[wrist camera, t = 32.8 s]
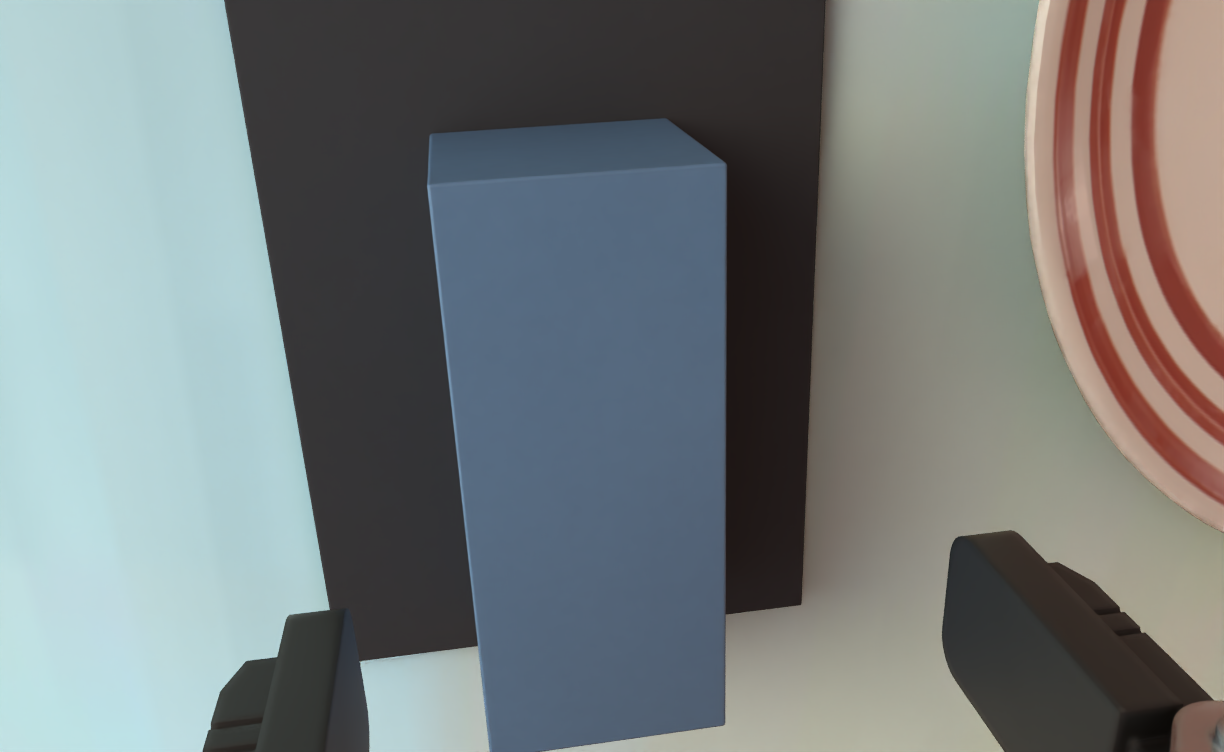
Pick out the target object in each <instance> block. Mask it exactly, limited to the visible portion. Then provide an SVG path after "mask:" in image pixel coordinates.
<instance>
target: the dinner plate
mask: <svg viewBox="0 0 1224 752" xmlns="http://www.w3.org/2000/svg"><path fill="white" fill-rule="evenodd" d="M1024 161H1025V185H1026V202H1027V211H1028V221H1029V231H1030V239H1031V244H1032V249H1033V255H1034V259H1035V264H1036V269H1037V273H1038V278H1039V283H1040V288H1041V292H1042V296H1043V299H1044V302H1045V306H1046V309H1047V312H1048V316H1049V319H1050V322H1051V325H1052V329H1053V332H1054V335H1055V337H1056V340H1057V342H1058V345H1059V347H1060V350H1061V352H1062V354H1063V357H1064V359H1065V361H1066V364H1067V366H1068V368H1069V370H1070V372H1071V374H1072V376H1073V378H1074V380H1075V382H1076V384H1077V386H1078V388H1079V390H1080V392H1081V394H1082V396H1083V398H1084V400H1085V401H1086V403H1087V405H1088V406H1089V408H1090V410H1091V411H1092V413H1093V415H1094V416H1095V418H1096V420H1097V421H1098V423H1099V424H1100V425H1101V427H1102V428H1103V430H1104V431H1105V432H1106V434H1107V435H1108V436H1109V438H1110V439H1111V440H1112V442H1113V443H1114V444H1115V446H1116V447H1117V448H1118V449H1119V450H1120V452H1121V453H1122V454H1123V455H1124V456H1125V458H1126V459H1127V460H1128V461H1129V462H1130V463H1131V464H1132V465H1133V466H1134V467H1135V468H1136V469H1137V470H1138V471H1139V472H1140V473H1141V474H1142V475H1143V476H1144V477H1145V478H1146V479H1147V480H1148V481H1150V482H1151V483H1152V484H1153V485H1154V486H1155V487H1157V488H1158V489H1159V490H1160V491H1161V492H1163V493H1164V494H1165V495H1166V496H1167V497H1168V498H1170V499H1171V500H1172V501H1174V502H1175V503H1176V504H1178V505H1179V506H1180V507H1182V508H1183V509H1184V510H1186V511H1187V512H1188V513H1190V514H1191V515H1192V516H1194V517H1196V518H1197V519H1199V520H1201V521H1202V522H1204V523H1205V524H1207V525H1209V526H1211V527H1213V528H1215V529H1217V530H1219V531H1221V532H1223V533H1224V0H1040V1H1039V6H1038V12H1037V18H1036V24H1035V30H1034V37H1033V45H1032V53H1031V61H1030V69H1029V76H1028V84H1027V92H1026V110H1025V140H1024Z"/></svg>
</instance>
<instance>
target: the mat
mask: <svg viewBox="0 0 1224 752" xmlns="http://www.w3.org/2000/svg"><path fill="white" fill-rule="evenodd" d="M825 1H826V0H224V2H225V7H226V13H227V19H228V25H229V31H230V36H231V42H232V48H233V54H234V59H235V65H236V71H237V77H238V82H239V88H240V94H241V100H242V106H243V111H244V117H245V123H246V129H247V134H248V140H249V146H250V152H251V157H252V163H253V169H254V175H255V180H256V186H257V192H258V198H259V204H260V209H261V215H262V221H263V227H264V232H265V238H266V244H267V250H268V255H269V261H270V267H271V273H272V278H273V284H274V290H275V296H276V302H277V307H278V313H279V319H280V325H281V330H282V336H283V342H284V348H285V353H286V359H287V365H288V371H289V376H290V382H291V388H292V394H293V400H294V405H295V411H296V417H297V423H298V428H299V434H300V440H301V446H302V451H303V457H304V463H305V469H306V474H307V480H308V486H309V492H310V498H311V503H312V509H313V515H314V521H315V526H316V532H317V538H318V544H319V549H320V555H321V561H322V567H323V572H324V578H325V584H326V590H327V596H328V601H329V607H330V610H335V609H344V608H348V609H349V610H350V613H351V616H352V620H353V626H354V632H355V638H356V644H357V650H358V656H359V661H363V660H371V659H379V658H387V657H395V656H403V655H411V654H419V653H426V652H434V651H442V650H450V649H458V648H466V647H474V646H478V641H477V632H476V623H475V614H474V605H473V596H472V587H471V578H470V569H469V560H468V551H467V541H466V532H465V523H464V514H463V505H462V496H461V487H460V478H459V469H458V460H457V451H456V442H455V433H454V424H453V415H452V406H451V397H450V388H449V379H448V370H447V361H446V352H445V343H444V334H443V325H442V316H441V307H440V298H439V289H438V280H437V271H436V262H435V253H434V244H433V235H432V225H431V216H430V207H429V198H428V189H427V183H428V161H429V139H430V135H431V134H434V133H449V132H464V131H479V130H494V129H509V128H524V127H539V126H555V125H570V124H585V123H600V122H615V121H630V120H645V119H660V118H666V119H668V120H669V121H671V122H672V123H673V124H675V125H676V126H677V127H679V128H680V129H681V130H683V131H684V132H685V133H687V134H688V135H689V136H691V137H692V138H693V139H695V140H696V141H697V142H699V143H700V144H701V145H703V146H704V147H705V148H707V149H708V150H709V151H711V152H712V153H713V154H715V155H716V156H717V157H719V158H720V159H721V160H723V161H724V162H725V163H726V164H727V319H726V614H733V613H741V612H749V611H757V610H765V609H773V608H781V607H788V606H796V605H801V601H802V576H803V551H804V526H805V501H806V476H807V451H808V426H809V401H810V376H811V351H812V326H813V301H814V276H815V251H816V226H817V201H818V176H819V151H820V126H821V101H822V76H823V51H824V26H825Z"/></svg>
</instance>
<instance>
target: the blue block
mask: <svg viewBox="0 0 1224 752" xmlns="http://www.w3.org/2000/svg"><path fill="white" fill-rule="evenodd" d="M427 189H428V198H429V207H430V216H431V225H432V235H433V244H434V253H435V262H436V271H437V280H438V289H439V298H440V307H441V316H442V325H443V334H444V343H445V352H446V361H447V370H448V379H449V388H450V397H451V406H452V415H453V424H454V433H455V442H456V451H457V460H458V469H459V478H460V487H461V496H462V505H463V514H464V523H465V532H466V541H467V551H468V560H469V569H470V578H471V587H472V596H473V605H474V614H475V623H476V632H477V641H478V650H479V659H480V668H481V677H482V686H483V695H484V704H485V713H486V722H487V731H488V740H489V749H490V752H542V751H549V750H556V749H563V748H570V747H577V746H584V745H591V744H598V743H605V742H612V741H619V740H626V739H633V738H640V737H647V736H654V735H661V734H668V733H675V732H682V731H689V730H696V729H703V728H710V727H717V726H723V725H725V626H726V319H727V164H726V163H725V162H724V161H723V160H721V159H720V158H719V157H717V156H716V155H715V154H713V153H712V152H711V151H709V150H708V149H707V148H705V147H704V146H703V145H701V144H700V143H699V142H697V141H696V140H695V139H693V138H692V137H691V136H689V135H688V134H687V133H685V132H684V131H683V130H681V129H680V128H679V127H677V126H676V125H675V124H673V123H672V122H671V121H669V120H668V119H666V118H660V119H645V120H630V121H615V122H600V123H585V124H570V125H555V126H539V127H524V128H509V129H494V130H479V131H464V132H449V133H434V134H431V135H430V139H429V161H428V183H427Z"/></svg>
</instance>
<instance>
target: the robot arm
mask: <svg viewBox="0 0 1224 752" xmlns="http://www.w3.org/2000/svg"><path fill="white" fill-rule="evenodd" d="M942 641H943V649H944V654H945V658H946V661H947V664H948V667H949V669H950V672H951V674H952V676H953V677H954V679H955V681H956V682H957V684H958V685H959V686H960V688H961V689H962V691H963V692H964V694H965V695H966V697H967V698H968V699H969V701H970V702H971V704H972V705H973V707H974V708H975V710H976V711H977V712H978V714H979V715H980V717H981V718H982V720H983V721H984V723H985V724H986V725H987V727H988V728H989V730H990V731H991V733H992V734H993V736H994V737H995V739H996V740H997V741H998V743H999V744H1000V746H1001V747H1002V749H1003V750H1004V752H1224V701H1214V700H1213V699H1212V698H1211V697H1210V696H1209V695H1208V694H1207V693H1206V692H1205V691H1204V690H1203V689H1202V688H1201V687H1200V686H1199V685H1198V684H1197V683H1196V682H1195V681H1194V680H1193V679H1192V678H1191V677H1190V676H1189V675H1188V674H1187V673H1186V672H1185V671H1184V670H1183V669H1182V668H1181V667H1180V666H1179V665H1178V664H1177V663H1176V662H1175V661H1174V660H1173V659H1172V658H1171V657H1170V656H1169V655H1168V654H1167V653H1166V652H1165V651H1164V650H1163V649H1162V648H1161V647H1160V646H1159V645H1157V644H1156V643H1155V642H1154V641H1153V640H1152V639H1151V638H1150V637H1149V636H1148V635H1147V634H1146V633H1141V631H1140V627H1139V626H1138V625H1137V624H1136V623H1135V622H1134V621H1133V620H1132V619H1131V618H1130V617H1129V616H1128V615H1127V614H1126V613H1125V612H1120V607H1119V606H1118V605H1117V604H1116V603H1115V602H1114V601H1113V600H1112V599H1111V598H1110V597H1109V596H1108V595H1107V594H1106V593H1105V592H1104V591H1103V590H1102V589H1101V588H1100V587H1099V586H1098V585H1097V584H1096V583H1095V582H1093V581H1091V580H1089V579H1088V578H1086V577H1084V576H1082V575H1080V574H1078V573H1077V572H1075V571H1073V570H1071V569H1069V568H1068V567H1066V566H1064V565H1062V564H1060V563H1058V562H1055V563H1047V562H1046V561H1045V560H1044V559H1043V558H1042V557H1041V556H1040V555H1039V554H1038V553H1037V552H1036V551H1035V550H1034V549H1033V548H1032V547H1031V546H1030V545H1029V544H1028V543H1027V542H1026V541H1025V539H1024V538H1023V537H1022V536H1021V535H1019V534H1018V533H1017V532H1015V531H1011V530H1010V531H1001V532H993V533H985V534H976V535H968V536H960V537H957V538H956V539H955V540H954V542H953V544H952V547H951V551H950V559H949V569H948V579H947V588H946V598H945V608H944V617H943V627H942ZM203 752H369V721H368V711H367V703H366V697H365V691H364V685H363V679H362V673H361V667H360V661H359V656H358V650H357V644H356V638H355V632H354V626H353V620H352V616H351V613H350V610H349V609H348V608H344V609H335V610H327V611H318V612H310V613H302V614H293V615H289V616H288V617H287V619H286V622H285V627H284V631H283V635H282V639H281V644H280V648H279V652H278V657H276V658H268V659H260V660H252V661H246V662H245V663H244V664H243V666H242V667H241V668H240V669H239V670H238V671H237V673H236V674H235V675H234V676H233V677H232V678H231V680H230V681H229V682H228V683H227V684H226V685H225V687H224V688H223V689H222V690H221V691H220V694H219V698H218V701H217V704H216V708H215V711H214V714H213V718H212V721H211V730H209V731H208V734H207V738H206V741H205V745H204V748H203Z"/></svg>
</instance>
